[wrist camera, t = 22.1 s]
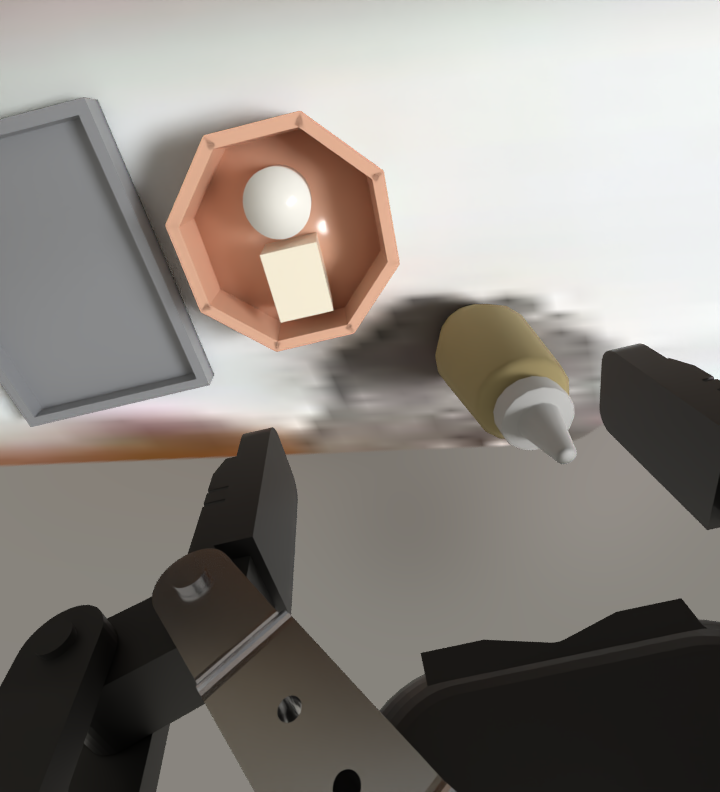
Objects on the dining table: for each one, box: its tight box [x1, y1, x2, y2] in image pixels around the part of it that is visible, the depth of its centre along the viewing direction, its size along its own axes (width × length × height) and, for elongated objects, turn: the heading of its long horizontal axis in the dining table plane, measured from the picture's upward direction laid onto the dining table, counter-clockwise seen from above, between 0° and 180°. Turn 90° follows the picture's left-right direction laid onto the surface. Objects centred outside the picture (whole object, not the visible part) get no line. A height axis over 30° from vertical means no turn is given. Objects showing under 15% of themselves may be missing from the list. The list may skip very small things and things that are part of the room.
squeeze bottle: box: [435, 304, 577, 464], centre depth 33 cm, size 8×8×18 cm
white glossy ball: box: [243, 164, 312, 239], centre depth 32 cm, size 4×4×4 cm
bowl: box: [165, 111, 400, 352], centre depth 33 cm, size 15×15×5 cm
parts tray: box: [0, 97, 214, 427], centre depth 35 cm, size 21×16×2 cm
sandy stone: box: [260, 232, 333, 323], centre depth 34 cm, size 5×4×4 cm
